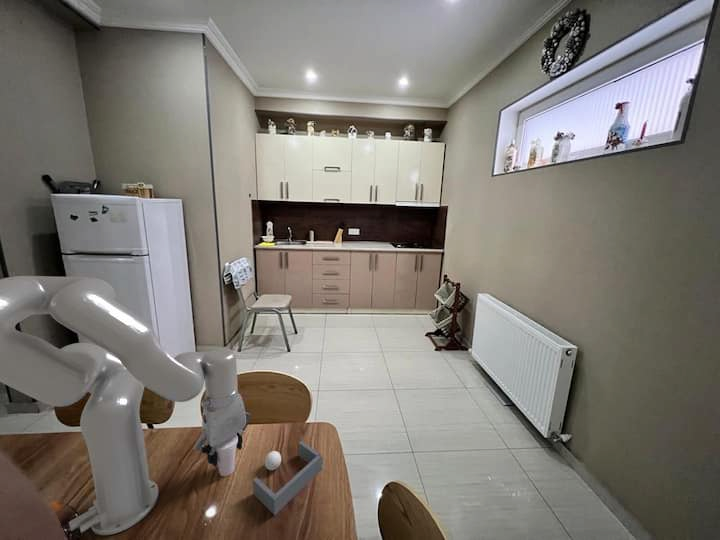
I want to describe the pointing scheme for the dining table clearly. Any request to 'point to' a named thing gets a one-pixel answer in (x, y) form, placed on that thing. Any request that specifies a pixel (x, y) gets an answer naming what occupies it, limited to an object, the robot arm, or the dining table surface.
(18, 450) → the dining table surface
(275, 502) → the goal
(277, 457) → the ball
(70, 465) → the dining table surface
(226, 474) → the smoothie
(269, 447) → the dining table surface
